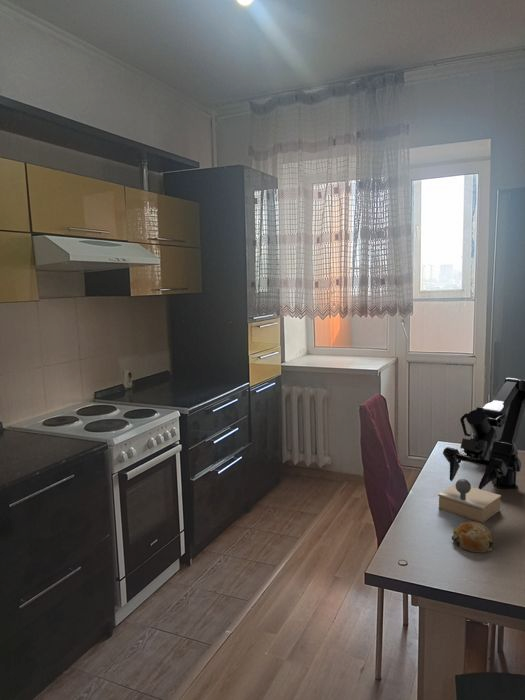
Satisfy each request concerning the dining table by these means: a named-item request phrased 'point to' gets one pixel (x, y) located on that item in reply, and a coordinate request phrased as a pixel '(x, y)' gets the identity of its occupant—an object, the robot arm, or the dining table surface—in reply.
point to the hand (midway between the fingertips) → (464, 484)
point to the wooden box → (469, 509)
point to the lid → (469, 495)
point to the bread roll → (473, 537)
